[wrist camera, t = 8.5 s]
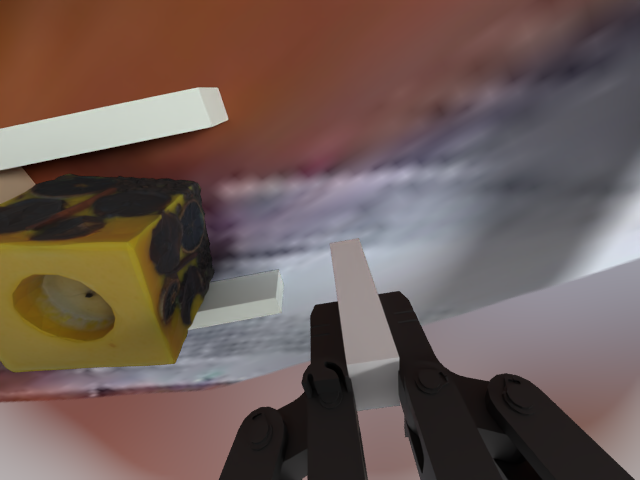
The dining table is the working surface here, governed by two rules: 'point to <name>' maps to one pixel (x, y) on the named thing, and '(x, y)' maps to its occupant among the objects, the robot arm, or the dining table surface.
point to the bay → (125, 128)
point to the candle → (101, 272)
